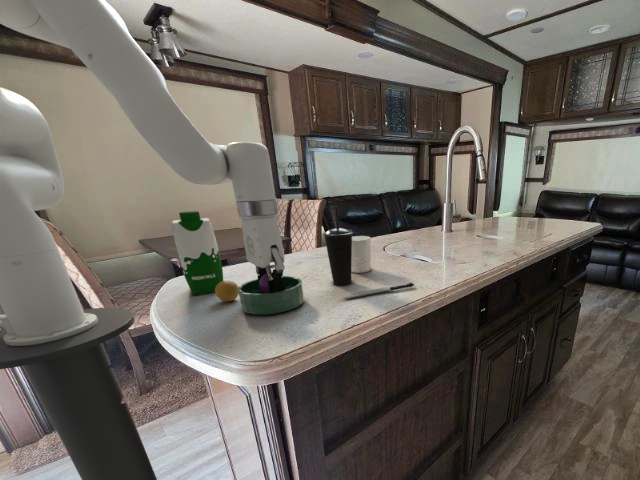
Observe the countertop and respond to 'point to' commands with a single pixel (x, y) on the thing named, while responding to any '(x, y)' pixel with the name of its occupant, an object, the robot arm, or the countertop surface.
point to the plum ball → (264, 284)
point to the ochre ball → (226, 291)
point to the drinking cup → (339, 253)
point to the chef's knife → (380, 290)
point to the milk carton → (197, 252)
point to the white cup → (361, 254)
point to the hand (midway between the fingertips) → (272, 292)
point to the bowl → (271, 297)
